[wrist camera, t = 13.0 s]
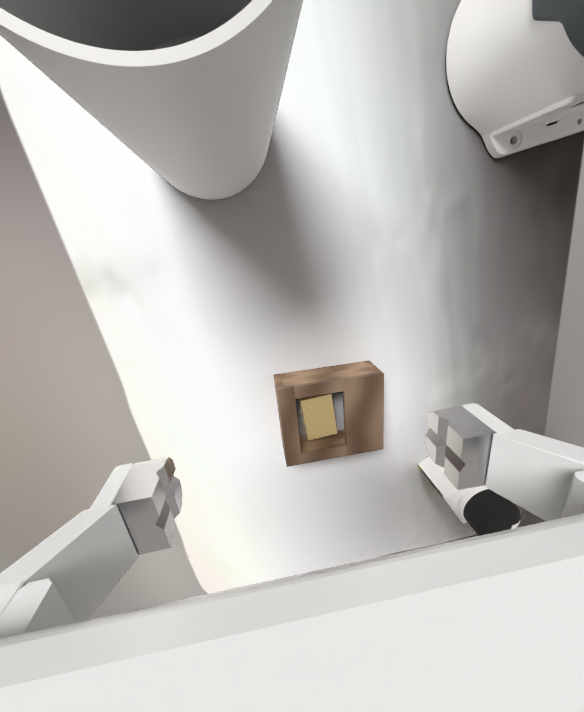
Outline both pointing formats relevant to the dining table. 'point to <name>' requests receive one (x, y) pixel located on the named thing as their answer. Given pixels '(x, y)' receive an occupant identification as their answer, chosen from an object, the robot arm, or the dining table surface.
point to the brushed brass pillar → (318, 416)
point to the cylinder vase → (169, 77)
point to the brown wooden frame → (359, 404)
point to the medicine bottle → (473, 502)
